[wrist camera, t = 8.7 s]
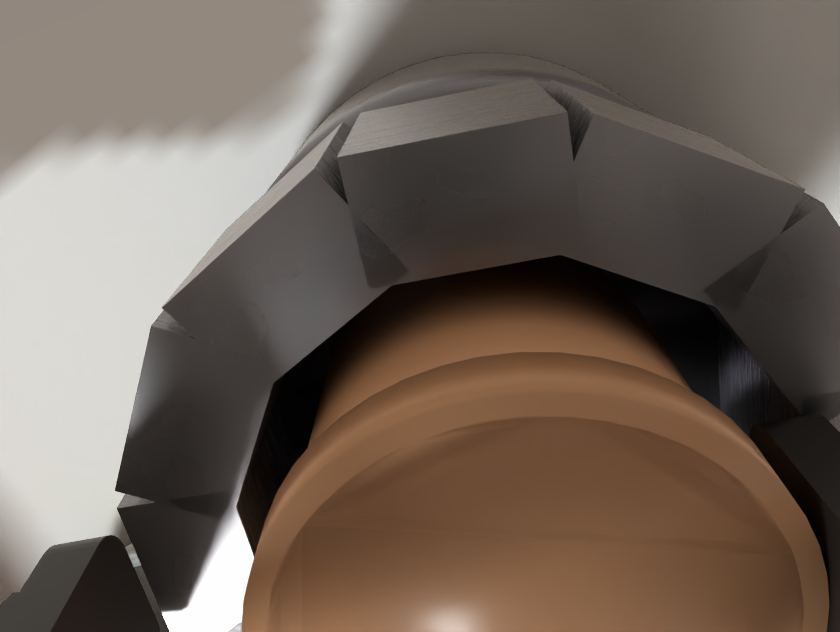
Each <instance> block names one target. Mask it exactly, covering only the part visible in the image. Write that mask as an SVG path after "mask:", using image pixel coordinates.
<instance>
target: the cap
mask: <svg viewBox="0 0 840 632" xmlns="http://www.w3.org/2000/svg"><path fill="white" fill-rule="evenodd" d="M828 614H829V592H828V578H827V572H826V568H825V564H824V561H823V557H822V553H821V549H820V545H819V543H818V541H817V539H816V537H815V535H814V532H813V530H812V528H811V526H810V524H809V522H808V520H807V517H806V516H805V514H804V513H803V511H802V510H801V508H800V507H799V506H798V504H797V503H796V501H795V500H794V498H793V497H792V496H791V494H790V493H789V491H788V490H787V488H786V487H785V486H784V484H783V483H782V481H781V480H780V479H779V477H778V476H777V474H776V473H775V471H774V470H773V469H772V467H771V466H770V464H769V463H768V462H767V460H766V459H765V457H764V456H763V455H762V453H761V452H760V450H759V449H758V448H757V446H756V445H755V443H754V442H753V441H752V440H751V439H750V438H749V437H748V436H747V435H746V434H745V433H744V432H743V431H742V430H741V429H740V428H739V426H738V425H737V424H736V423H735V422H734V421H733V420H732V419H731V418H729V417H728V416H727V415H725V414H724V413H723V412H722V411H720V410H719V409H718V408H716V407H715V406H714V405H712V404H711V403H710V402H708V401H707V400H706V399H704V398H703V397H701V396H699V395H698V394H696V393H694V392H693V391H692V390H691V388H690V387H689V385H688V384H687V382H686V381H685V379H684V378H683V376H682V374H681V373H680V371H679V370H678V368H677V367H676V365H675V364H674V362H673V361H672V359H671V358H670V356H669V354H668V353H667V351H666V350H665V348H664V347H663V345H662V344H661V342H660V341H659V339H658V338H657V336H656V334H655V333H654V331H653V330H652V328H651V327H650V325H649V324H648V322H647V321H646V319H645V318H644V316H643V315H642V313H641V312H640V311H639V309H638V308H637V306H636V305H635V304H634V302H633V301H632V300H631V299H630V298H629V297H628V296H627V295H626V294H625V293H624V292H623V291H622V290H621V288H620V287H619V286H617V285H616V284H615V283H614V282H612V281H611V280H610V279H608V278H607V277H606V276H605V275H603V274H602V273H601V272H599V271H597V270H596V269H594V268H592V267H590V266H589V265H587V264H585V263H583V262H580V261H578V260H575V259H572V258H569V257H566V256H563V255H556V256H551V257H545V258H540V259H534V260H529V261H523V262H518V263H512V264H507V265H501V266H496V267H490V268H485V269H479V270H474V271H468V272H463V273H457V274H452V275H446V276H441V277H435V278H430V279H424V280H419V281H413V282H408V283H402V284H397V285H392V286H390V287H389V288H388V289H387V290H385V291H384V292H383V293H382V294H381V295H379V296H378V297H377V298H376V299H375V300H373V301H372V302H371V303H370V304H369V305H367V306H366V307H365V308H364V309H362V310H361V311H360V312H359V313H358V314H356V315H355V316H354V317H353V318H352V319H350V320H349V321H348V322H347V324H346V325H345V327H344V329H343V331H342V332H341V334H340V336H339V338H338V340H337V343H336V345H335V348H334V350H333V353H332V355H331V359H330V363H329V367H328V371H327V375H326V379H325V382H324V386H323V390H322V394H321V398H320V402H319V406H318V410H317V414H316V418H315V422H314V425H313V429H312V433H311V437H310V441H309V445H308V448H307V449H306V451H305V452H304V453H303V454H302V455H301V457H300V458H299V459H298V460H297V461H296V463H295V464H294V465H293V466H292V468H291V470H290V471H289V473H288V475H287V476H286V478H285V480H284V481H283V483H282V484H281V486H280V488H279V489H278V491H277V493H276V495H275V498H274V500H273V503H272V505H271V508H270V510H269V512H268V515H267V517H266V520H265V523H264V526H263V530H262V533H261V536H260V540H259V543H258V546H257V550H256V553H255V556H254V560H253V563H252V566H251V570H250V573H249V578H248V582H247V586H246V591H245V595H244V599H243V613H242V632H827V624H828Z"/></svg>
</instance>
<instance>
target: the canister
mask: <svg viewBox="0 0 840 632" xmlns="http://www.w3.org/2000/svg"><path fill="white" fill-rule="evenodd" d="M804 190H805V189H804V188H802V187H800V186H798V185H796V184H795V183H793V182H791V181H789V180H787V179H785V178H784V177H782V176H780V175H778V174H776V173H775V172H773V171H771V170H769V169H767V168H765V167H764V166H762V165H760V164H758V163H756V162H754V161H753V160H751V159H749V158H747V157H745V156H744V155H742V154H740V153H738V152H736V151H734V150H733V149H731V148H729V147H727V146H725V145H723V144H722V143H720V142H718V141H716V140H714V139H713V138H711V137H709V136H706V135H703V134H700V133H698V132H695V131H692V130H689V129H687V128H684V127H681V126H678V125H676V124H673V123H670V122H667V121H664V120H662V119H659V118H657V117H655V116H653V115H652V114H650V113H648V112H647V111H645V110H643V109H642V108H640V107H638V106H636V105H635V104H633V103H631V102H630V101H628V100H626V99H625V98H623V97H621V96H620V95H618V94H616V93H614V92H613V91H611V90H609V89H608V88H606V87H604V86H603V85H601V84H599V83H598V82H596V81H594V80H592V79H591V78H589V77H586V76H584V75H582V74H580V73H577V72H575V71H573V70H571V69H569V68H566V67H564V66H561V65H558V64H554V63H551V62H547V61H544V60H541V59H537V58H534V57H527V56H520V55H513V54H506V53H467V54H459V55H452V56H445V57H439V58H435V59H431V60H428V61H424V62H421V63H417V64H413V65H410V66H407V67H405V68H403V69H401V70H398V71H396V72H394V73H391V74H389V75H387V76H384V77H382V78H380V79H378V80H377V81H375V82H374V83H372V84H370V85H369V86H367V87H365V88H364V89H362V90H360V91H359V92H357V93H355V94H354V95H353V96H352V97H350V98H349V99H348V100H347V101H345V102H344V103H343V104H342V105H340V106H339V107H338V108H337V109H335V110H334V111H333V112H332V113H331V114H330V115H329V116H328V117H327V118H326V119H325V120H324V121H323V122H322V123H321V124H320V126H319V127H318V128H317V129H316V130H315V131H314V132H313V133H312V134H311V135H310V137H309V138H308V139H307V140H306V142H305V143H304V144H303V146H302V147H301V148H300V149H299V151H298V152H297V153H296V155H295V156H294V157H293V158H292V160H291V161H290V162H289V164H288V165H287V166H286V167H285V169H284V170H283V171H282V173H281V174H280V175H279V176H278V178H277V179H276V180H275V182H274V183H273V184H272V185H271V187H270V188H269V189H268V191H267V192H266V193H265V194H264V195H263V196H262V197H261V198H260V199H259V200H258V201H257V202H255V203H254V204H253V205H252V206H251V207H250V208H249V209H248V210H247V211H246V212H245V213H244V214H242V215H241V216H240V217H239V218H238V219H237V220H236V221H235V222H234V223H233V224H232V225H231V226H229V227H228V228H227V229H226V230H225V232H224V233H223V234H222V235H221V236H220V238H219V239H218V240H217V241H216V242H215V244H214V245H213V246H212V247H211V249H210V250H209V251H208V252H207V253H206V255H205V256H204V257H203V258H202V259H201V261H200V262H199V263H198V264H197V266H196V267H195V268H194V269H193V270H192V272H191V273H190V274H189V275H188V277H187V278H186V279H185V280H184V281H183V283H182V284H181V285H180V286H179V287H178V289H177V290H176V291H175V292H174V294H173V295H172V296H171V297H170V298H169V300H168V301H167V302H166V303H165V304H164V306H163V307H162V308H163V309H164V311H163V312H162V313H161V314H160V316H159V317H158V318H157V319H156V321H155V322H154V323H153V324H152V326H151V329H150V334H149V338H148V343H147V347H146V352H145V357H144V361H143V366H142V370H141V375H140V379H139V384H138V388H137V393H136V397H135V402H134V406H133V411H132V416H131V420H130V425H129V429H128V434H127V438H126V443H125V447H124V452H123V456H122V461H121V465H120V470H119V474H118V479H117V484H116V488H115V491H117V492H121V493H125V495H124V497H123V499H122V501H121V502H120V504H119V506H118V507H117V510H118V512H119V514H120V517H121V519H122V521H123V524H124V526H125V528H126V531H127V533H128V535H129V538H130V540H131V542H132V545H133V547H134V549H135V552H136V554H137V556H138V559H139V561H140V563H141V566H142V568H143V570H144V573H145V575H146V577H147V580H148V582H149V584H150V587H151V589H152V591H153V594H154V596H155V598H156V601H157V603H158V605H159V607H160V610H161V612H162V614H163V617H164V619H165V621H166V624H167V626H168V628H169V631H170V632H242V613H243V599H244V595H245V591H246V586H247V582H248V578H249V573H250V570H251V566H252V563H253V560H254V556H255V553H256V550H257V546H258V543H259V540H260V536H261V533H262V530H263V526H264V523H265V520H266V517H267V515H268V512H269V510H270V508H271V505H272V503H273V500H274V498H275V495H276V493H277V491H278V489H279V488H280V486H281V484H282V483H283V481H284V480H285V478H286V476H287V475H288V473H289V471H290V470H291V468H292V466H293V465H294V464H295V463H296V461H297V460H298V459H299V458H300V457H301V455H302V454H303V453H304V452H305V451H306V449H307V448H308V445H309V441H310V437H311V433H312V429H313V425H314V422H315V418H316V414H317V410H318V406H319V402H320V398H321V394H322V390H323V386H324V382H325V379H326V375H327V371H328V367H329V363H330V359H331V355H332V353H333V350H334V348H335V345H336V343H337V340H338V338H339V336H340V334H341V332H342V331H343V329H344V327H345V325H346V324H347V322H348V321H349V320H350V319H352V318H353V317H354V316H355V315H356V314H358V313H359V312H360V311H361V310H362V309H364V308H365V307H366V306H367V305H369V304H370V303H371V302H372V301H373V300H375V299H376V298H377V297H378V296H379V295H381V294H382V293H383V292H384V291H385V290H387V289H388V288H389V287H390V286H392V285H397V284H402V283H408V282H413V281H419V280H424V279H430V278H435V277H441V276H446V275H452V274H457V273H463V272H468V271H474V270H479V269H485V268H490V267H496V266H501V265H507V264H512V263H518V262H523V261H529V260H534V259H540V258H545V257H551V256H556V255H563V256H566V257H569V258H572V259H575V260H578V261H580V262H583V263H585V264H587V265H589V266H590V267H592V268H594V269H596V270H597V271H599V272H601V273H602V274H603V275H605V276H606V277H607V278H608V279H610V280H611V281H612V282H614V283H615V284H616V285H617V286H619V287H620V288H621V290H622V291H623V292H624V293H625V294H626V295H627V296H628V297H629V298H630V299H631V300H632V301H633V302H634V304H635V305H636V306H637V308H638V309H639V311H640V312H641V313H642V315H643V316H644V318H645V319H646V321H647V322H648V324H649V325H650V327H651V328H652V330H653V331H654V333H655V334H656V336H657V338H658V339H659V341H660V342H661V344H662V345H663V347H664V348H665V350H666V351H667V353H668V354H669V356H670V358H671V359H672V361H673V362H674V364H675V365H676V367H677V368H678V370H679V371H680V373H681V374H682V376H683V378H684V379H685V381H686V382H687V384H688V385H689V387H690V388H691V390H692V391H693V392H694V393H696V394H698V395H699V396H701V397H703V398H704V399H706V400H707V401H708V402H710V403H711V404H712V405H714V406H715V407H716V408H718V409H719V410H720V411H722V412H723V413H724V414H725V415H727V416H728V417H729V418H731V419H732V420H733V421H734V422H735V423H736V424H737V425H738V426H739V428H740V429H741V430H742V431H743V432H744V433H745V434H746V435H747V436H748V437H749V435H750V430H751V428H752V426H753V425H754V424H759V423H765V422H771V421H776V420H782V419H788V418H794V417H799V416H805V415H811V414H820V415H822V416H824V417H825V418H826V419H827V420H828V421H829V422H830V423H831V424H832V425H833V426H834V427H835V428H836V429H837V430H838V431H839V432H840V226H839V225H838V224H837V222H836V221H835V219H834V218H833V216H832V215H831V213H830V212H829V211H828V209H827V208H826V206H825V205H824V203H822V202H820V201H819V200H817V199H815V198H813V197H811V196H810V195H808V194H806V193H804Z"/></svg>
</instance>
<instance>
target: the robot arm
mask: <svg viewBox="0 0 840 632" xmlns="http://www.w3.org/2000/svg"><path fill="white" fill-rule="evenodd" d="M749 438H750V439H751V440H752V441H753V442H754V443H755V445H756V446H757V448H758V449H759V450H760V452H761V453H762V455H763V456H764V457H765V459H766V460H767V462H768V463H769V464H770V466H771V467H772V469H773V470H774V471H775V473H776V474H777V476H778V477H779V479H780V480H781V481H782V483H783V484H784V486H785V487H786V488H787V490H788V491H789V493H790V494H791V496H792V497H793V498H794V500H795V501H796V503H797V504H798V506H799V507H800V508H801V510H802V511H803V513H804V514H805V516H806V517H807V520H808V522H809V524H810V526H811V528H812V530H813V532H814V535H815V537H816V539H817V541H818V543H819V545H820V549H821V553H822V557H823V561H824V564H825V568H826V572H827V578H828V592H829V614H828V624H827V632H840V432H839V431H838V430H837V429H836V428H835V427H834V426H833V425H832V424H831V423H830V422H829V421H828V420H827V419H826V418H825V417H824V416H822V415H820V414H811V415H805V416H799V417H794V418H788V419H782V420H776V421H771V422H765V423H759V424H754V425H753V426H752V428H751V430H750V435H749ZM0 632H160V629H159V625H158V622H157V620H156V618H155V615H154V613H153V611H152V608H151V606H150V604H149V601H148V599H147V597H146V594H145V592H144V590H143V587H142V585H141V583H140V580H139V578H138V576H137V573H136V571H135V569H134V566H133V564H132V562H131V560H130V557H129V555H128V553H127V550H126V548H125V546H124V545H123V543H122V542H121V540H119V539H118V538H117V537H115V536H112V535H110V536H104V537H98V538H92V539H87V540H81V541H75V542H70V543H64V544H58V545H54V546H52V547H50V548H49V549H48V550H47V551H46V552H45V553H44V555H43V556H42V558H41V559H40V561H39V563H38V564H37V566H36V567H35V569H34V570H33V572H32V574H31V575H30V577H29V578H28V580H27V581H26V583H25V584H24V586H23V588H22V589H21V591H20V592H17V593H13V594H12V595H11V596H9V597H8V598H7V599H6V600H5V601H4V602H3V603H2V604H1V605H0Z"/></svg>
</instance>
